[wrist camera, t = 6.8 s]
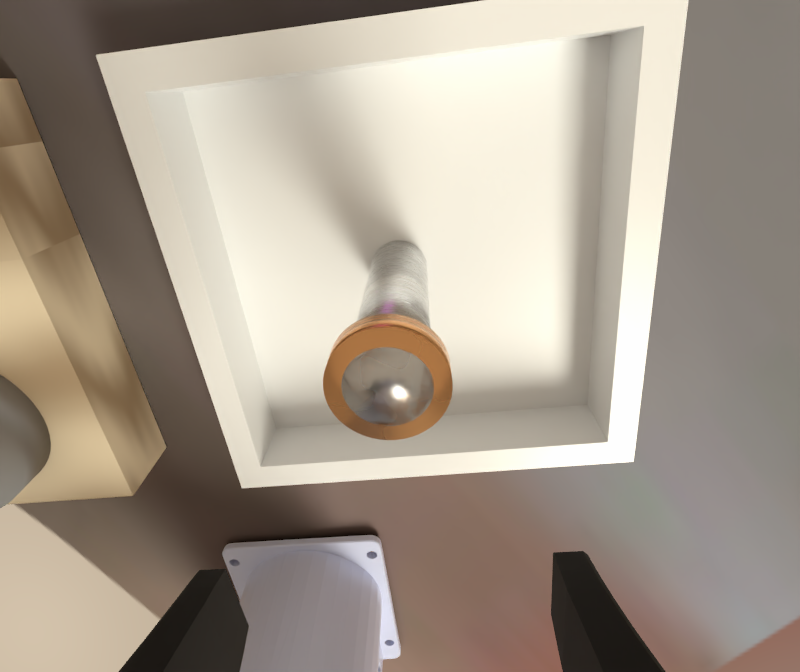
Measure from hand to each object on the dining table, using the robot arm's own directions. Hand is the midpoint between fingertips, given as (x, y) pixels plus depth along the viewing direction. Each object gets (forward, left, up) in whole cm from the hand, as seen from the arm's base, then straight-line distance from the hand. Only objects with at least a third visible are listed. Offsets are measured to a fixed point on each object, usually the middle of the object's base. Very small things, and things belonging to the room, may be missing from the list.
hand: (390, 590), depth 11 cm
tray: (+4, -1, -10) cm, 11 cm away
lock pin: (+4, 0, -10) cm, 11 cm away
